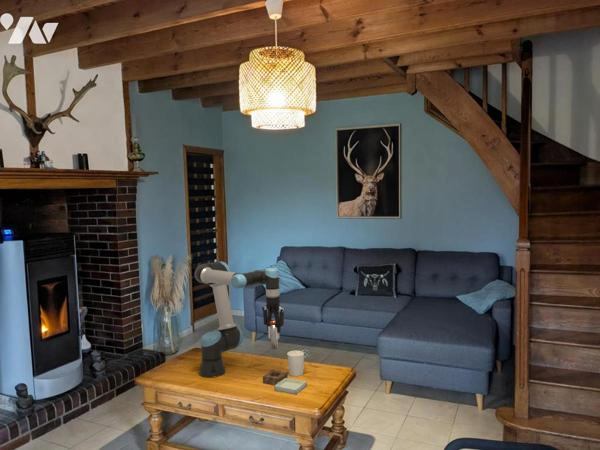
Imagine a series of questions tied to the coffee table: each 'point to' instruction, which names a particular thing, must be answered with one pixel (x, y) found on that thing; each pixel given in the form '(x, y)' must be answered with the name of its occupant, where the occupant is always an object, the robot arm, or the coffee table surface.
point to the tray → (290, 386)
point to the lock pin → (273, 334)
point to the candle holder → (295, 362)
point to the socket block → (274, 377)
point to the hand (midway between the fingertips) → (274, 337)
